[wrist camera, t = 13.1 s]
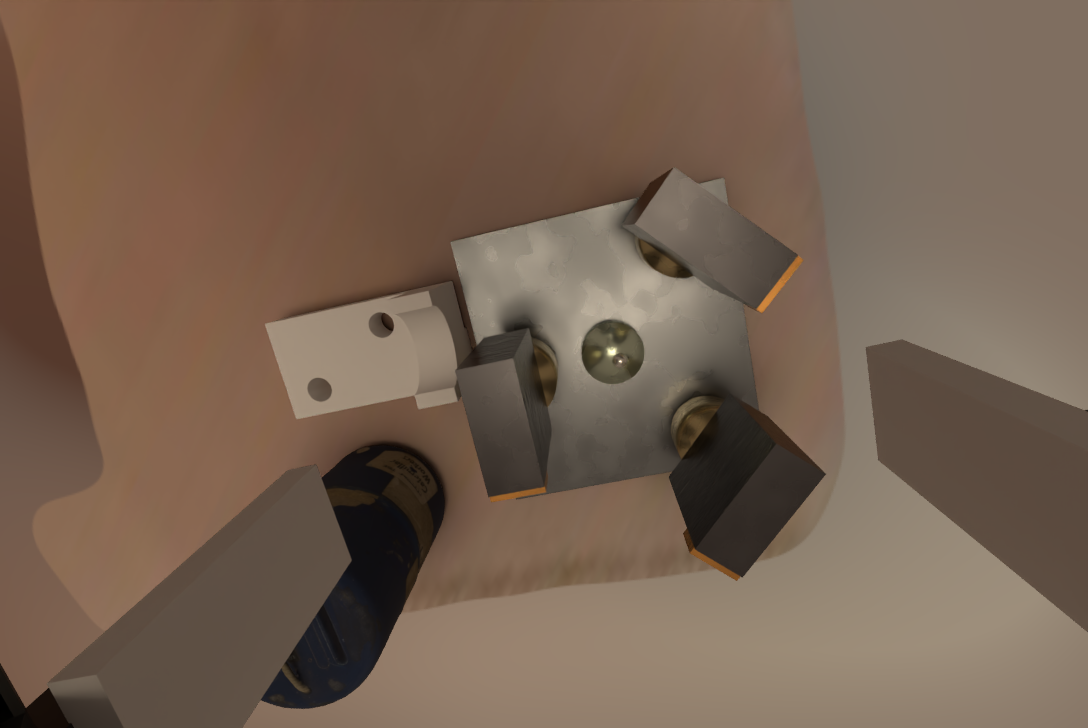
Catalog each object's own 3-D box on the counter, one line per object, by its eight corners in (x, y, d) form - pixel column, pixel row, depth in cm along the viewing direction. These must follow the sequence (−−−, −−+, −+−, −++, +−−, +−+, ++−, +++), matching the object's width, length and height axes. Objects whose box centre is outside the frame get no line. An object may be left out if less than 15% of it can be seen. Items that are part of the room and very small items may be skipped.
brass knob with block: (704, 371, 40) (759, 433, 28) (762, 407, 41) (842, 484, 28) (646, 453, 42) (674, 546, 30) (702, 486, 42) (753, 592, 30)
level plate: (452, 241, 40) (445, 242, 38) (721, 178, 38) (729, 175, 36) (517, 494, 45) (514, 508, 43) (762, 450, 43) (771, 462, 41)
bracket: (455, 279, 41) (428, 290, 34) (478, 371, 43) (457, 401, 36) (290, 316, 43) (230, 334, 35) (318, 404, 44) (266, 439, 37)
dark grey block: (608, 238, 39) (622, 242, 26) (652, 174, 38) (687, 147, 25) (696, 299, 39) (749, 331, 27) (742, 237, 38) (819, 241, 26)
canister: (340, 548, 47) (198, 737, 29) (324, 439, 45) (160, 574, 27) (454, 546, 46) (378, 739, 29) (444, 436, 44) (354, 572, 27)
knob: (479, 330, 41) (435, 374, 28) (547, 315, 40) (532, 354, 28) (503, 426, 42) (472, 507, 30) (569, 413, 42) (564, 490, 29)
